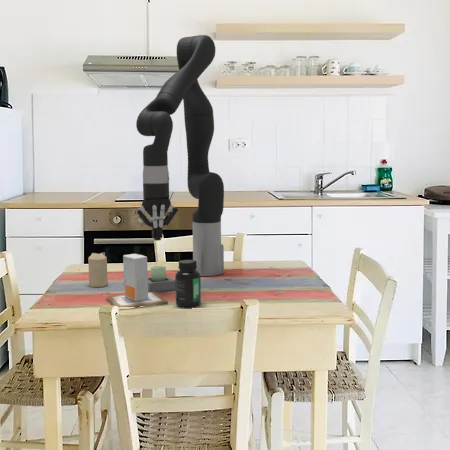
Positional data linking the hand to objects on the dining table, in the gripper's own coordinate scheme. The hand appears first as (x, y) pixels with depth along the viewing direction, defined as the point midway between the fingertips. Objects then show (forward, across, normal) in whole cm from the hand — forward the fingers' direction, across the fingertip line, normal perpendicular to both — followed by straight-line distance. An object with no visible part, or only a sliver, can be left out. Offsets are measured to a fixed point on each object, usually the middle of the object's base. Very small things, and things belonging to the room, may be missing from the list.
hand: (157, 240), depth 197 cm
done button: (+13, 0, 0) cm, 13 cm away
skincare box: (+14, +10, +11) cm, 20 cm away
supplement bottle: (+15, -2, +20) cm, 25 cm away
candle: (+15, +15, -13) cm, 25 cm away
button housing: (+15, 0, 0) cm, 15 cm away
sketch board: (+15, +10, +11) cm, 21 cm away
